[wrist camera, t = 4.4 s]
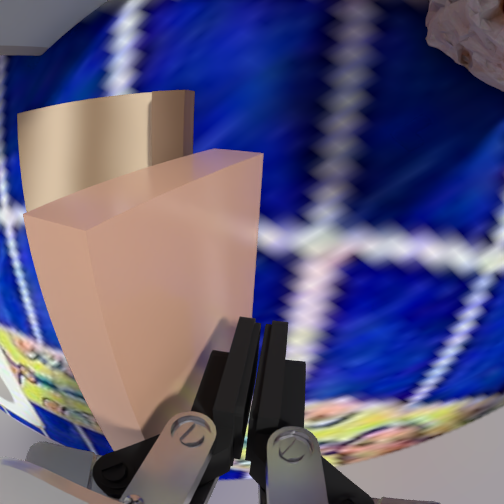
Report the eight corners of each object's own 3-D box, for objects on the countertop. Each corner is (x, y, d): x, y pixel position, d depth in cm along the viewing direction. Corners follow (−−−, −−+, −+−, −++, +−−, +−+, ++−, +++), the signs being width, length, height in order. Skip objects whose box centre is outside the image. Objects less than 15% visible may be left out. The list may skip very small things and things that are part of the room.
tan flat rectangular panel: (164, 92, 12) (158, 91, 11) (180, 378, 19) (177, 385, 19) (24, 112, 13) (17, 113, 12) (70, 348, 20) (67, 353, 20)
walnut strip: (194, 91, 12) (184, 89, 11) (200, 382, 19) (195, 396, 18) (164, 92, 12) (152, 91, 11) (180, 378, 19) (174, 391, 18)
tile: (263, 153, 12) (85, 230, 5) (248, 369, 17) (173, 498, 10) (207, 147, 13) (16, 212, 5) (209, 357, 18) (125, 473, 11)
